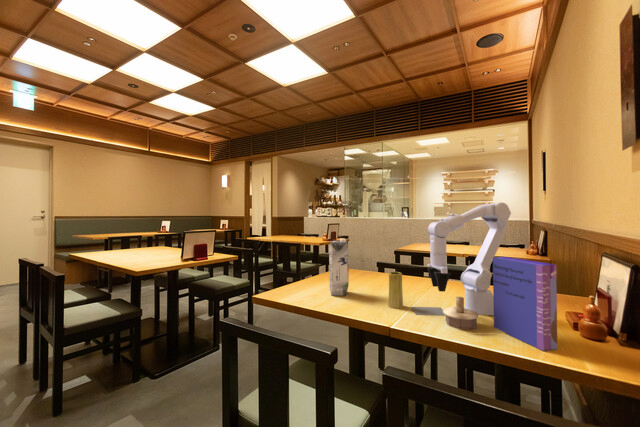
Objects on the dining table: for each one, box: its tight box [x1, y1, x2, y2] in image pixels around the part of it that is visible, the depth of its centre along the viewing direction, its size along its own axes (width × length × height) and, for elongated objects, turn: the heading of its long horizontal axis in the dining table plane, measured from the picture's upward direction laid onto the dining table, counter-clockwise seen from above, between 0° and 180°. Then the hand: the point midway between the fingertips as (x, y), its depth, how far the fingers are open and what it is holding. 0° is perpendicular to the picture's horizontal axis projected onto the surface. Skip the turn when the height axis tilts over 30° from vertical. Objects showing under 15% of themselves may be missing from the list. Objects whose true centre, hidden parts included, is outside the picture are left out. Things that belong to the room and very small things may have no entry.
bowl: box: [445, 315, 478, 331], centre depth 100 cm, size 9×9×4 cm
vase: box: [387, 271, 404, 310], centre depth 121 cm, size 6×6×14 cm
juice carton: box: [328, 238, 350, 297], centre depth 143 cm, size 9×10×27 cm
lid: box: [442, 296, 479, 320], centre depth 100 cm, size 11×11×6 cm
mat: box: [410, 306, 446, 317], centre depth 115 cm, size 12×10×1 cm
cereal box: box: [492, 256, 559, 352], centre depth 90 cm, size 17×5×24 cm, turn 12°
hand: (438, 288), depth 112 cm, fingers open, 7 cm apart
